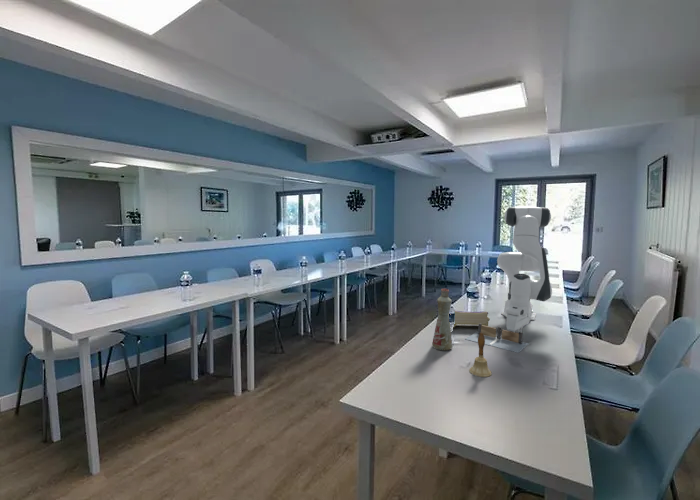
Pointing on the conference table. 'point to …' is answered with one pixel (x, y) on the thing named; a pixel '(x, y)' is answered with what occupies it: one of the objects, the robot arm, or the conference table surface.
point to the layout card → (499, 343)
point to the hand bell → (480, 361)
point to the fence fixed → (489, 331)
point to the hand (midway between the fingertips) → (517, 335)
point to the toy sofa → (471, 318)
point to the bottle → (443, 323)
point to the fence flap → (512, 336)
